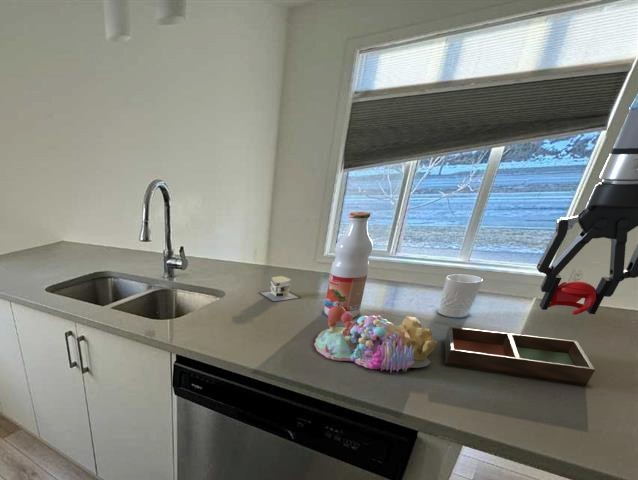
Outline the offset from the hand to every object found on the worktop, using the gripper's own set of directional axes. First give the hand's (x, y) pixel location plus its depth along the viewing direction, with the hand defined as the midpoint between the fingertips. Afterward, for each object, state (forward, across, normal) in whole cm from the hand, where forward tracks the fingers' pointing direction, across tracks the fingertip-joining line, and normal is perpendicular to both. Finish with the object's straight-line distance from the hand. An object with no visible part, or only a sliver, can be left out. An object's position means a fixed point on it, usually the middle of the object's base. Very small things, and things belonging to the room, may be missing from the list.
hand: (566, 309), depth 80 cm
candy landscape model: (+13, -31, -6) cm, 34 cm away
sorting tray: (+13, -5, -1) cm, 14 cm away
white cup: (+13, -14, +27) cm, 34 cm away
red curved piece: (+1, 0, 0) cm, 1 cm away
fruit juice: (+13, -42, +17) cm, 47 cm away
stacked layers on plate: (+13, -62, +28) cm, 70 cm away
